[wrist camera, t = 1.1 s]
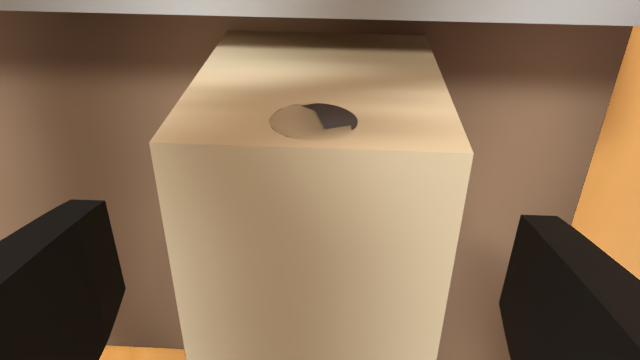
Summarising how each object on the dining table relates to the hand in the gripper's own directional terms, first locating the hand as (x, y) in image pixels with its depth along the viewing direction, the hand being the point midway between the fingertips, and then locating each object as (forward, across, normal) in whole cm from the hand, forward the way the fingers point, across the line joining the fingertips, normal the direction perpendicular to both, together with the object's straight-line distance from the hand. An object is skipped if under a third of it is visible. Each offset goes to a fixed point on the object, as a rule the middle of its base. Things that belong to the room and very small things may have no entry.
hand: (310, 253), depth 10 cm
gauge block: (+3, 0, 0) cm, 3 cm away
